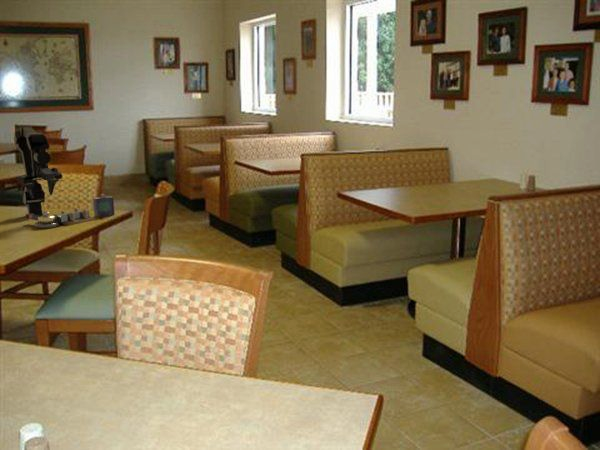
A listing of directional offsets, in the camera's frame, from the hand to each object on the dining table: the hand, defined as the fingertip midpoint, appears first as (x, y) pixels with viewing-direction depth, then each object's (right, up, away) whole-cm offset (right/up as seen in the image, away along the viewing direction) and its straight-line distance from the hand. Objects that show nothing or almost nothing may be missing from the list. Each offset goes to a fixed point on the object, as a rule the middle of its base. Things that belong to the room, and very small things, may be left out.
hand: (42, 196), depth 276 cm
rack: (+13, -11, +4) cm, 18 cm away
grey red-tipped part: (+1, -11, -4) cm, 12 cm away
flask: (+23, -9, +15) cm, 29 cm away
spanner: (+13, -10, +3) cm, 16 cm away
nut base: (+5, -13, -5) cm, 15 cm away
